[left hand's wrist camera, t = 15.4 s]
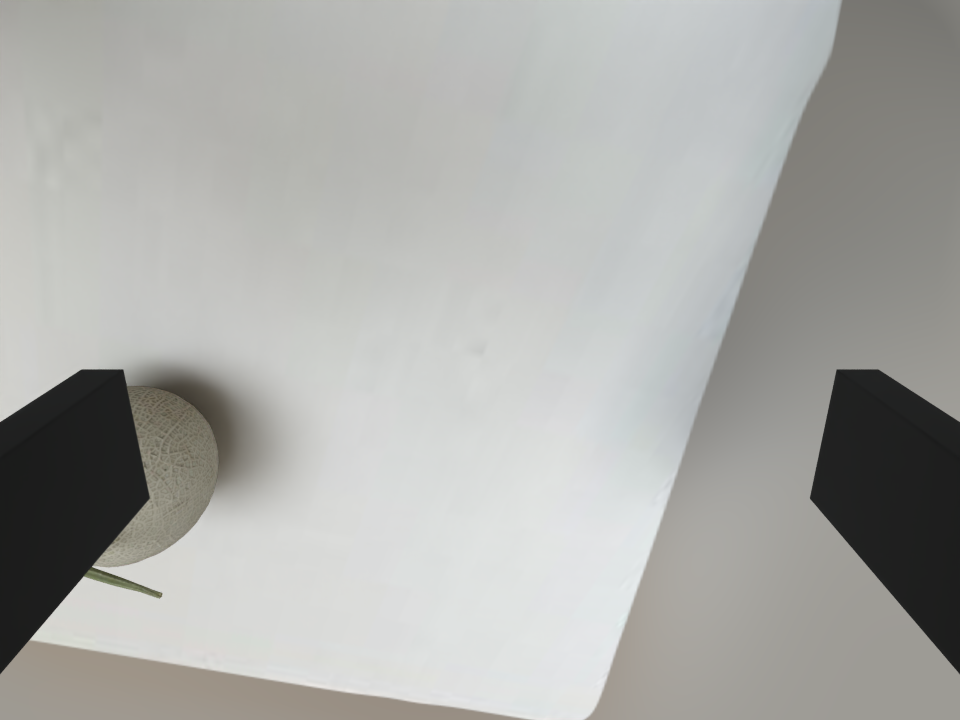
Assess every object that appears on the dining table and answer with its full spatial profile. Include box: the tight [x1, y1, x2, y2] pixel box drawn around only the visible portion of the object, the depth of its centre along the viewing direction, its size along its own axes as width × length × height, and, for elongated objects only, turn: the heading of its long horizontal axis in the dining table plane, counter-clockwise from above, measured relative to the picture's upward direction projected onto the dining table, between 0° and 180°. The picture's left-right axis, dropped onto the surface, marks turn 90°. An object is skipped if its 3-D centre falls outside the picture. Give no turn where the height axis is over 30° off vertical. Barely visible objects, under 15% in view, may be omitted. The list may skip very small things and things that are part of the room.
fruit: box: [84, 386, 218, 598], centre depth 40 cm, size 10×12×15 cm
